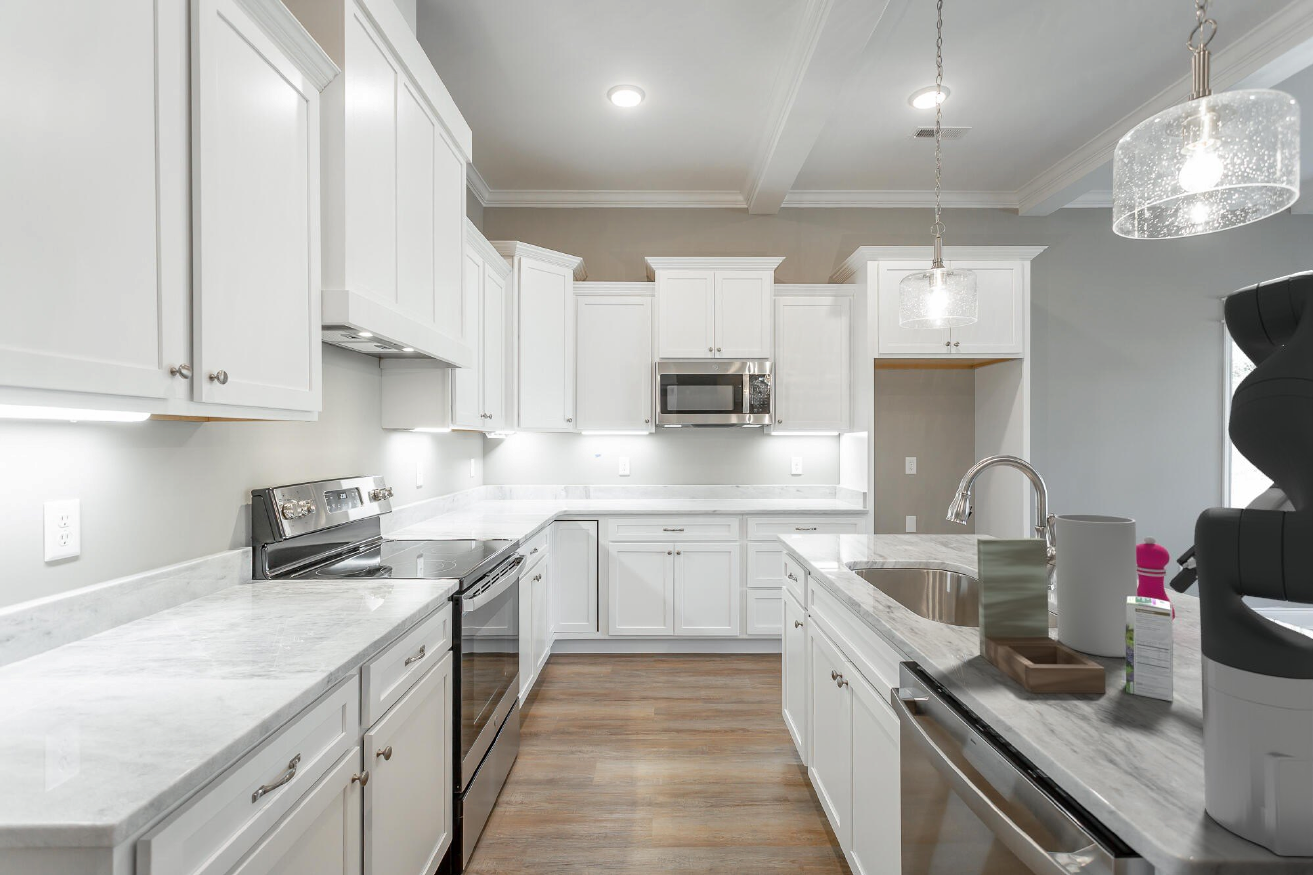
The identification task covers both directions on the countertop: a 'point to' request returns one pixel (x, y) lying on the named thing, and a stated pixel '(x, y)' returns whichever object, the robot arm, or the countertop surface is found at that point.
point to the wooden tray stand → (1026, 620)
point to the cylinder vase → (1094, 581)
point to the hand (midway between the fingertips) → (1196, 596)
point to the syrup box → (1149, 648)
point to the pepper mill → (1152, 570)
